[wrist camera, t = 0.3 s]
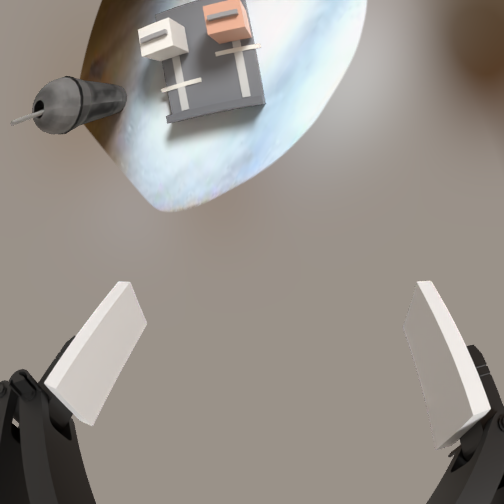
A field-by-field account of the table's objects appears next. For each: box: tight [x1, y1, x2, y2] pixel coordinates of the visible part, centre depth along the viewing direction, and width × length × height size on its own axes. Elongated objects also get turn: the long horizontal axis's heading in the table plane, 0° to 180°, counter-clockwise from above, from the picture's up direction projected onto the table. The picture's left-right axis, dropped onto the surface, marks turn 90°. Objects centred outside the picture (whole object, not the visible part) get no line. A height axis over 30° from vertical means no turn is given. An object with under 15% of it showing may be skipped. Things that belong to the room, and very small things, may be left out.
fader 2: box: [203, 0, 252, 44], centre depth 22 cm, size 4×4×6 cm
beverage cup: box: [11, 76, 127, 134], centre depth 24 cm, size 7×7×20 cm
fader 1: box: [138, 17, 189, 61], centre depth 24 cm, size 4×4×6 cm
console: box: [155, 0, 266, 124], centre depth 27 cm, size 17×14×4 cm
